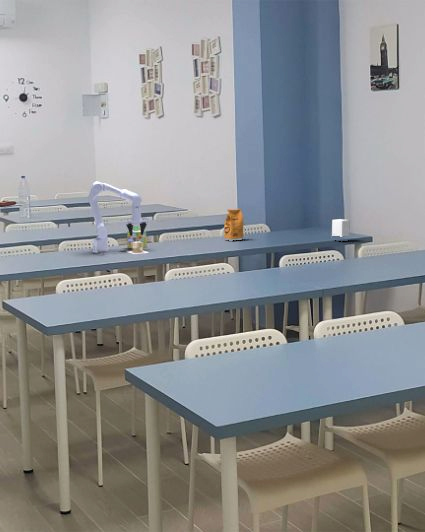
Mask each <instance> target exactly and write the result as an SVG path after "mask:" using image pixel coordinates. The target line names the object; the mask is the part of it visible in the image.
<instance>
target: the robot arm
mask: <svg viewBox="0 0 425 532" xmlns="http://www.w3.org/2000/svg"><path fill="white" fill-rule="evenodd" d="M102 191H103V192H107V191H108V192H111V193H114V194H116V195H118V196H119V197H120V198H121V199H124V200H125V201H128V202H132V203H131V220H126V221H125V225H126V226H125V227H126V228H127V229H128V231H129V233H130V236H132V235H133V230H134V228H133V226H134V225H136V224H139V228H140V229H139V230H140V231H141V235H143V233H144V231H146V230H145V229H146V227H147V224H148V220H146V219H142V205H141V202H142V201H143V200H142V197H141V195H139V194H137V193H136V192H133V191H129V189H124V188H123V189H120V188H117V187H114V186H112V185H110V184H108V183H104V182H100V181H98V180H97V181H94V182H92V184H91V185H90V189H89V192H88V194H87V199H88V201H89V202H88V203H89V205H90V208H91V212H92V215H93V216H92V217H93V219H94V221H95V226H96V234H97V236H96V238H93V239H92V243H91V246H92V248H91V249H92V251H91V252H92V253H95V254H100V253H102V252H108V251H109V237H108V235H109V233H108V230H107V229H106V227H105V224H104V221H103V217H102V214H101V211H100V207H99V205H98V201H97V197H98V195H99V194H100V193H101V192H102Z"/></svg>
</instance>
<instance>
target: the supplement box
mask: <svg viewBox="0 0 425 532" xmlns="http://www.w3.org/2000/svg"><path fill="white" fill-rule="evenodd" d="M331 221H332V222H331V237H332V236H340V237H343V236H348V235H349V236H350V228H351V227H350V225H351V220H350V219H345V218H344V219H343V218H339V219H332V220H331Z"/></svg>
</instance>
